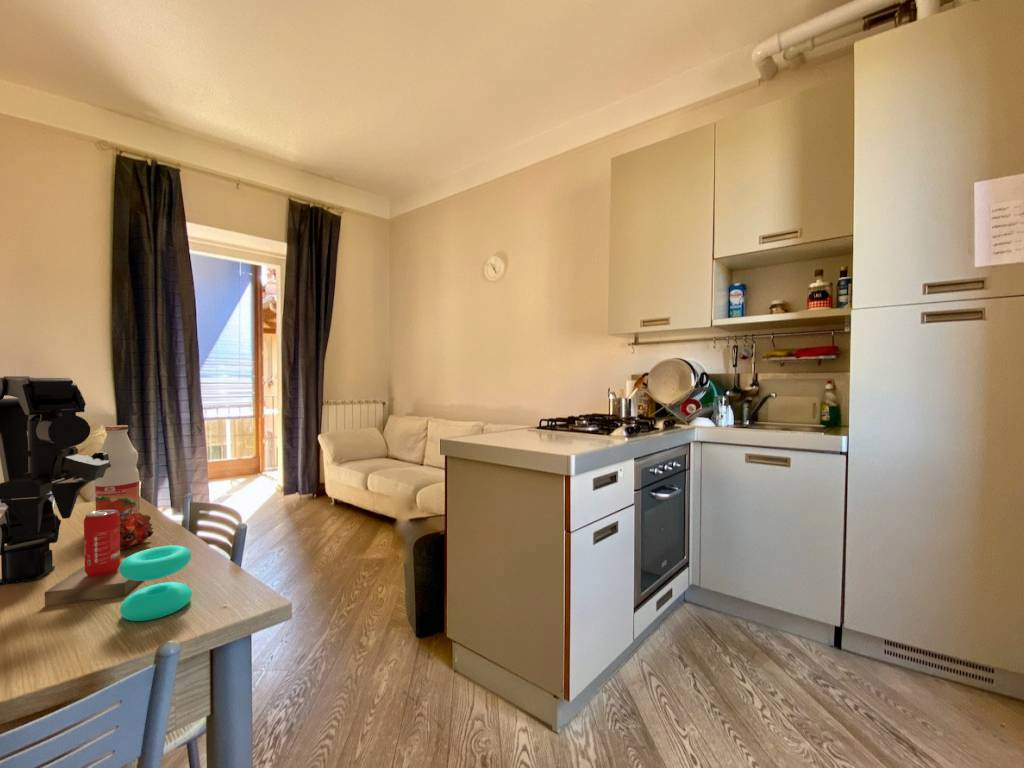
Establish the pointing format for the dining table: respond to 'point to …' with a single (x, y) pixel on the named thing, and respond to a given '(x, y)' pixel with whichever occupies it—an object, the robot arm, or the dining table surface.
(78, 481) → the robot arm
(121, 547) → the dragon fruit
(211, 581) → the dining table surface
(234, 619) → the dining table surface
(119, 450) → the fruit juice
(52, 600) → the walnut plinth
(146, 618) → the donuts
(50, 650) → the dining table surface
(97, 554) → the beverage can
